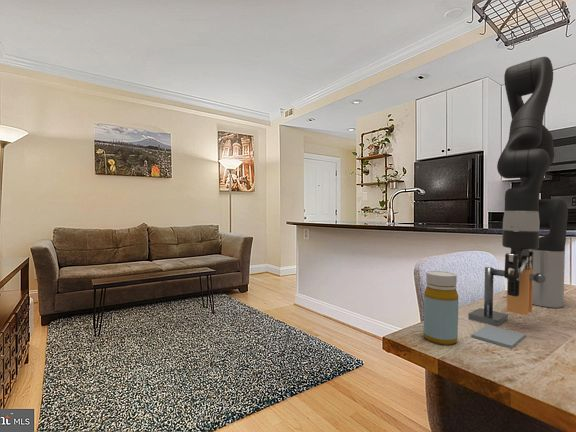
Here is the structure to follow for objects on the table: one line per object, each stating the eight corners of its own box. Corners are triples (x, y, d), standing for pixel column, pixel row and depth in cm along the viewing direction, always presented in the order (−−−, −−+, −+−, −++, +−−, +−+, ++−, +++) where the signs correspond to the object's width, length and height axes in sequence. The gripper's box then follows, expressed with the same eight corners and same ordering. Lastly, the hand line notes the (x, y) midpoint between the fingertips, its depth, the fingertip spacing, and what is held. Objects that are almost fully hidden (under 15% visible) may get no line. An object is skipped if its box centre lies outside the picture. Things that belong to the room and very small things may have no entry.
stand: (479, 313, 93) (480, 263, 93) (548, 328, 81) (550, 272, 81) (468, 319, 88) (469, 266, 88) (540, 336, 76) (541, 276, 76)
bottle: (454, 335, 76) (456, 271, 76) (459, 347, 69) (461, 277, 69) (422, 331, 78) (423, 269, 78) (424, 343, 72) (425, 275, 71)
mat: (486, 327, 82) (487, 324, 82) (525, 337, 76) (525, 334, 76) (471, 337, 75) (471, 334, 75) (511, 348, 69) (511, 345, 69)
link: (511, 308, 85) (512, 266, 85) (532, 312, 82) (533, 268, 82) (506, 311, 83) (507, 268, 83) (527, 315, 79) (528, 270, 79)
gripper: (512, 228, 90) (510, 286, 90) (493, 228, 80) (491, 294, 81) (546, 229, 84) (544, 292, 84) (530, 230, 75) (528, 300, 75)
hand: (518, 293), depth 82 cm, fingers open, 8 cm apart
